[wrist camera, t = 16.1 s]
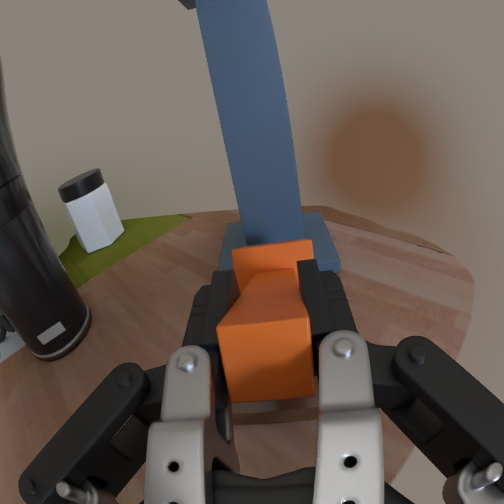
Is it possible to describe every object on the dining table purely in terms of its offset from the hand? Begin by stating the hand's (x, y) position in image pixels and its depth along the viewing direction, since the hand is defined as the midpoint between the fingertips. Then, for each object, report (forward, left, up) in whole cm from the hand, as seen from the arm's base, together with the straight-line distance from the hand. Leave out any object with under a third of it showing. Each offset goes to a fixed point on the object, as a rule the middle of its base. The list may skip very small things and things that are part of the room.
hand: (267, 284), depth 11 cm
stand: (0, +19, -11) cm, 21 cm away
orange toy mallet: (0, +2, -5) cm, 5 cm away
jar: (-30, +30, -11) cm, 44 cm away
